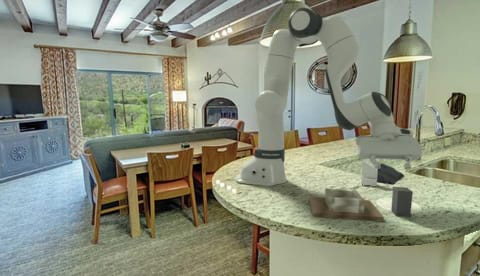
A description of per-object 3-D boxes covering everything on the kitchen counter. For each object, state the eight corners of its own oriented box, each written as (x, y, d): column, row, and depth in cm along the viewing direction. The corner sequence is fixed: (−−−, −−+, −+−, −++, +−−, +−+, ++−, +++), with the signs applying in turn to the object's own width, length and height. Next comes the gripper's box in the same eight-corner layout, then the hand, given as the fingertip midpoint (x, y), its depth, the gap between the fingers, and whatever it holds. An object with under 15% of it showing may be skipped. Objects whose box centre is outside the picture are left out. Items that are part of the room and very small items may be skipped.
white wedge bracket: (351, 175, 119) (363, 159, 116) (372, 189, 116) (385, 173, 113) (350, 177, 116) (362, 161, 113) (372, 192, 113) (385, 176, 110)
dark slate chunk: (356, 179, 124) (356, 169, 123) (371, 170, 140) (371, 161, 139) (394, 186, 114) (395, 175, 113) (405, 175, 130) (406, 166, 129)
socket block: (312, 216, 83) (313, 199, 82) (309, 200, 97) (309, 185, 96) (383, 221, 80) (384, 204, 79) (369, 203, 93) (370, 188, 93)
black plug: (396, 216, 83) (398, 190, 82) (391, 211, 87) (393, 186, 86) (410, 217, 83) (412, 191, 82) (404, 211, 87) (406, 187, 86)
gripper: (356, 130, 100) (362, 162, 92) (417, 130, 96) (429, 164, 88) (353, 140, 105) (358, 172, 97) (411, 141, 101) (421, 174, 93)
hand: (392, 168), depth 92 cm, fingers open, 8 cm apart
